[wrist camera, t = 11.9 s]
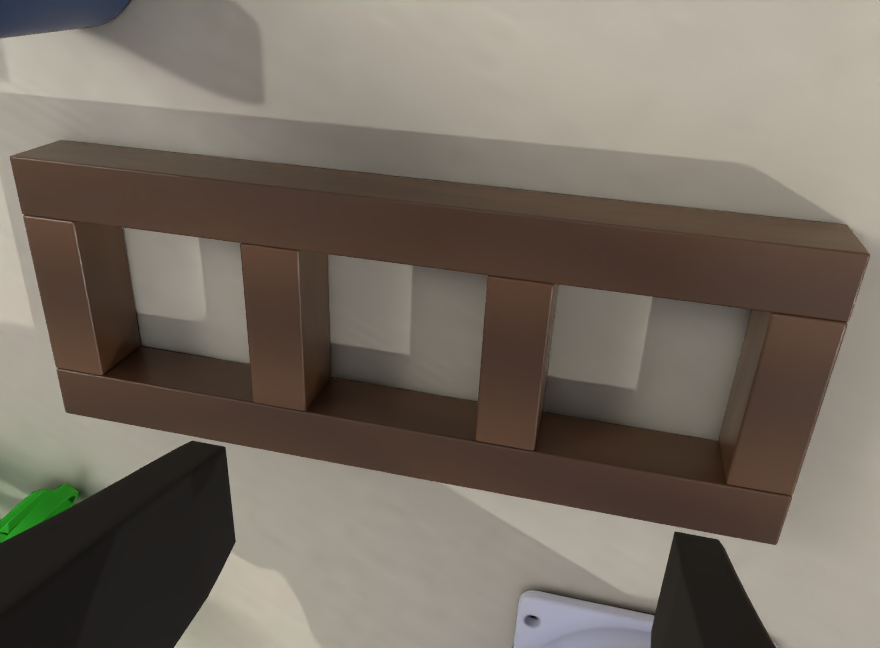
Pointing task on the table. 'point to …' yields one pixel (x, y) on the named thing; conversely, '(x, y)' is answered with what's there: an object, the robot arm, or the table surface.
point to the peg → (54, 15)
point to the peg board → (504, 336)
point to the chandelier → (37, 510)
